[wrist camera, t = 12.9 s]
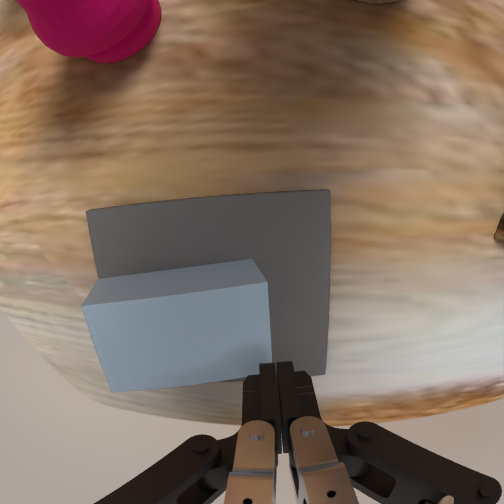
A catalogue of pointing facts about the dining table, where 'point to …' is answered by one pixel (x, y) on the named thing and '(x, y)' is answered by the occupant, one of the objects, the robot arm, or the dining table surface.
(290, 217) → the mat
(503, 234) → the rock
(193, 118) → the dining table surface
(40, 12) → the pepper mill
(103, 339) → the block
